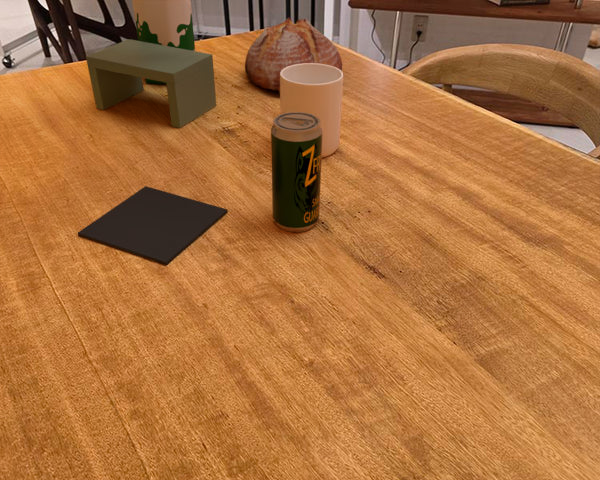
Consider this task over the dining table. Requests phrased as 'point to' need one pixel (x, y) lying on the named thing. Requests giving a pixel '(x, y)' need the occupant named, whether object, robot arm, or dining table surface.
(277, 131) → the beer can
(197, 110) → the shelf
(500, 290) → the dining table surface
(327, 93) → the mug
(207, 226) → the mat
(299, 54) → the bread
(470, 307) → the dining table surface
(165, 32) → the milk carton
